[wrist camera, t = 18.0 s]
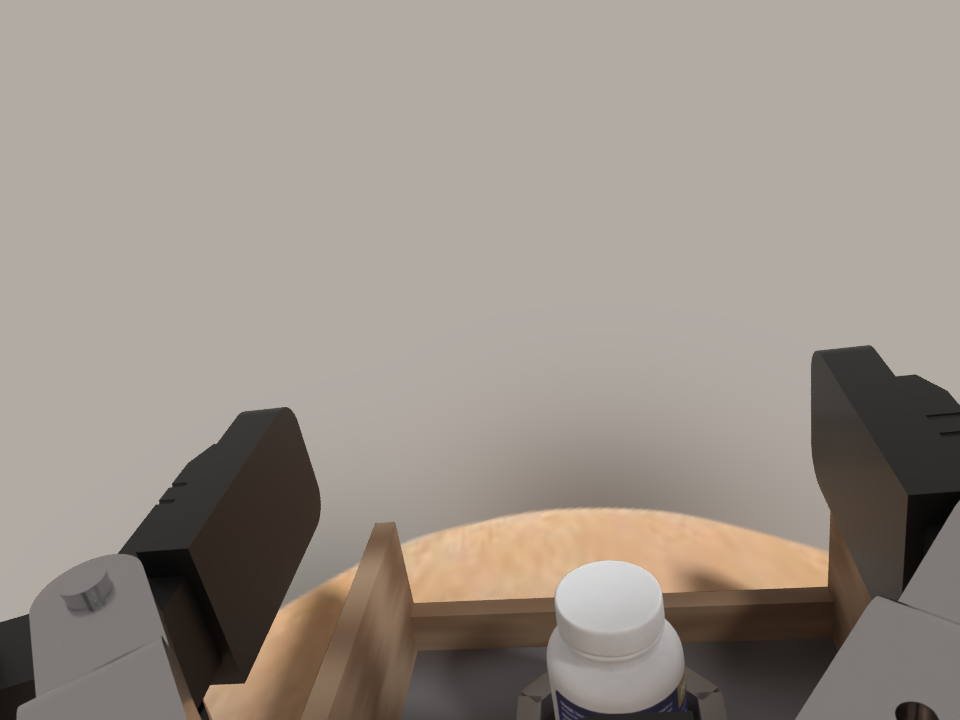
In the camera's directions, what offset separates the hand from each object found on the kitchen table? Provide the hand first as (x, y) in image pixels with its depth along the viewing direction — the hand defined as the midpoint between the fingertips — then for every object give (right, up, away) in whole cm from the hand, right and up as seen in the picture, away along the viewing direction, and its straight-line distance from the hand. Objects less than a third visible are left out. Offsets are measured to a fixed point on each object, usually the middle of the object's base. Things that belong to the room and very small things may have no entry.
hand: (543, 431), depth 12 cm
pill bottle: (+5, -16, +21) cm, 26 cm away
